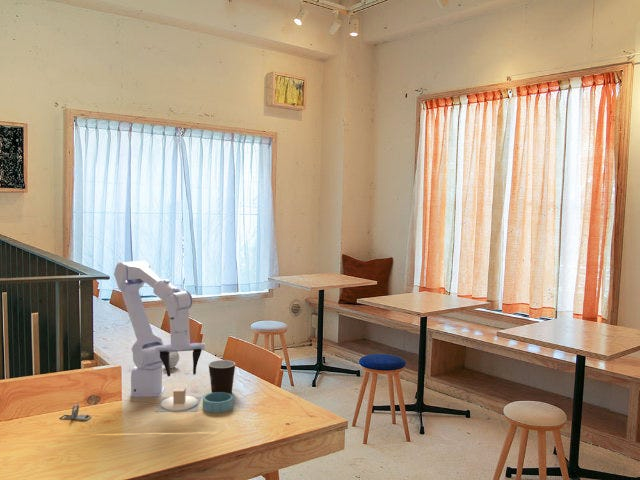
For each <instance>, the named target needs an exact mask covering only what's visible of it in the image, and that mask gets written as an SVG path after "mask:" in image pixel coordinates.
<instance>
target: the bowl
mask: <svg viewBox="0 0 640 480" xmlns="http://www.w3.org/2000/svg"><path fill="white" fill-rule="evenodd" d="M233 409H234V395H233V394H232V393H231V394H230V393H226V392H213V393H212V392H209V393H206V394H205V395H203V397H202V410H203V411H204V412H206V413H209V414H222V413H227V412H229V411H231V410H233Z"/></svg>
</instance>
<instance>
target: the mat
mask: <svg viewBox="0 0 640 480" xmlns="http://www.w3.org/2000/svg"><path fill="white" fill-rule="evenodd" d="M170 397H171V396H163V397H162V399H161V401H160V402H159V405H158V407H157V409H156V410H155V412H156V413H169V412H170V413H176V412H179V413H181V412H189V413H190V412H192V413H193V412H198V409H199V406H200V403H201V400H202V396H193V397H194V398H196V399H197V400H198V404H197V405H196V406H195V407H193V408H191V409H187V410H181V411H171V410H166V409H164V408H162V407H161V402H162V401H163V400H165V399H167V398H170Z"/></svg>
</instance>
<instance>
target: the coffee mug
mask: <svg viewBox="0 0 640 480" xmlns="http://www.w3.org/2000/svg"><path fill="white" fill-rule="evenodd" d="M235 370H236V362H235V361H232V360H228V359H227V360H226V359H219V360H213V361H211V362H209V363H208V371H209V379H210V390H211V393H213V392H226V393H230V394H232V393H233V386H234V380H235V379H234V377H235Z"/></svg>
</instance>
